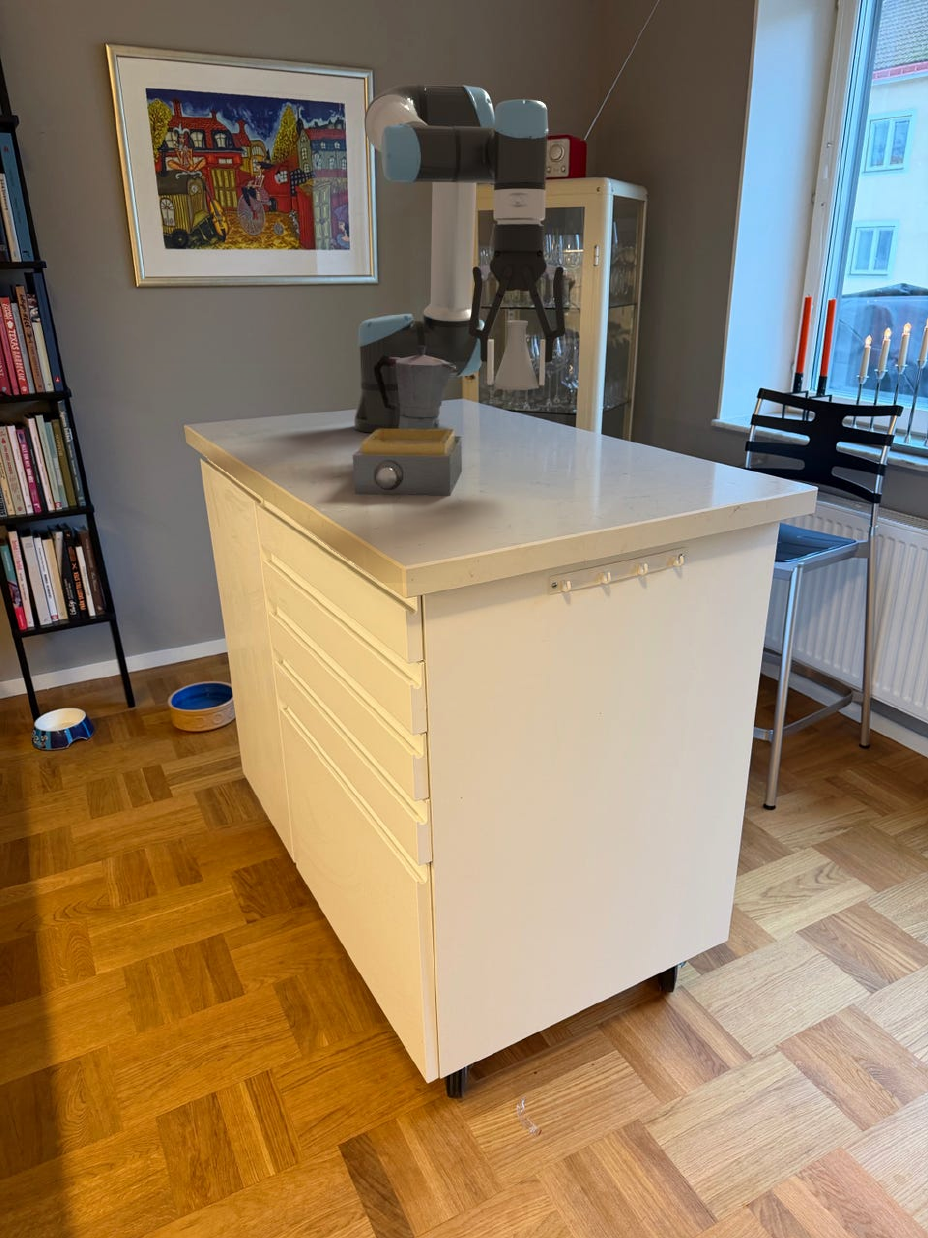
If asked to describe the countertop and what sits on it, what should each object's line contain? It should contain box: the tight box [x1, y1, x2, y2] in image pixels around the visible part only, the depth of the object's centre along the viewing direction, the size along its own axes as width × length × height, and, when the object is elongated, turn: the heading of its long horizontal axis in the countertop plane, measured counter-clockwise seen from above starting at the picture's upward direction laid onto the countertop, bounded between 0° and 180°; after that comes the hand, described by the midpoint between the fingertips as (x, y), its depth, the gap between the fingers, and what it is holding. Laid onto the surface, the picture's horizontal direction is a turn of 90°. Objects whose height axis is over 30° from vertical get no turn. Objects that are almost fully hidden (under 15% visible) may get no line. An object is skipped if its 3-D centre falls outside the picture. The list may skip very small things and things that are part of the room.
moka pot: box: [374, 345, 456, 429], centre depth 155 cm, size 10×15×20 cm, turn 78°
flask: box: [492, 320, 540, 391], centre depth 134 cm, size 7×7×10 cm
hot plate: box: [352, 428, 463, 496], centre depth 139 cm, size 19×15×8 cm
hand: (515, 383), depth 135 cm, fingers closed on flask, 7 cm apart
